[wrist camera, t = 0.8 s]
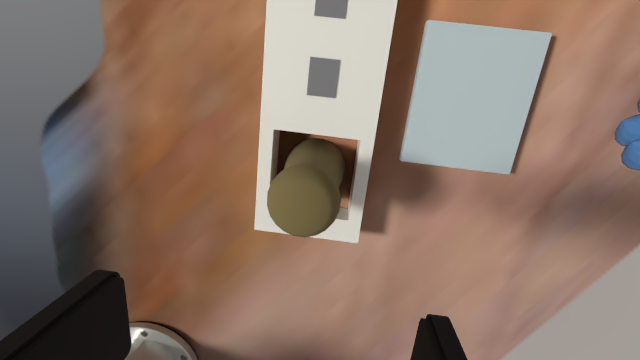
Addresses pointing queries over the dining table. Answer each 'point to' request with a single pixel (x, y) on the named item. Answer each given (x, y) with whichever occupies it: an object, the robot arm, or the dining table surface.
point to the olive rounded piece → (307, 189)
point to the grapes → (630, 140)
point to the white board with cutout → (323, 89)
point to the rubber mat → (472, 95)
